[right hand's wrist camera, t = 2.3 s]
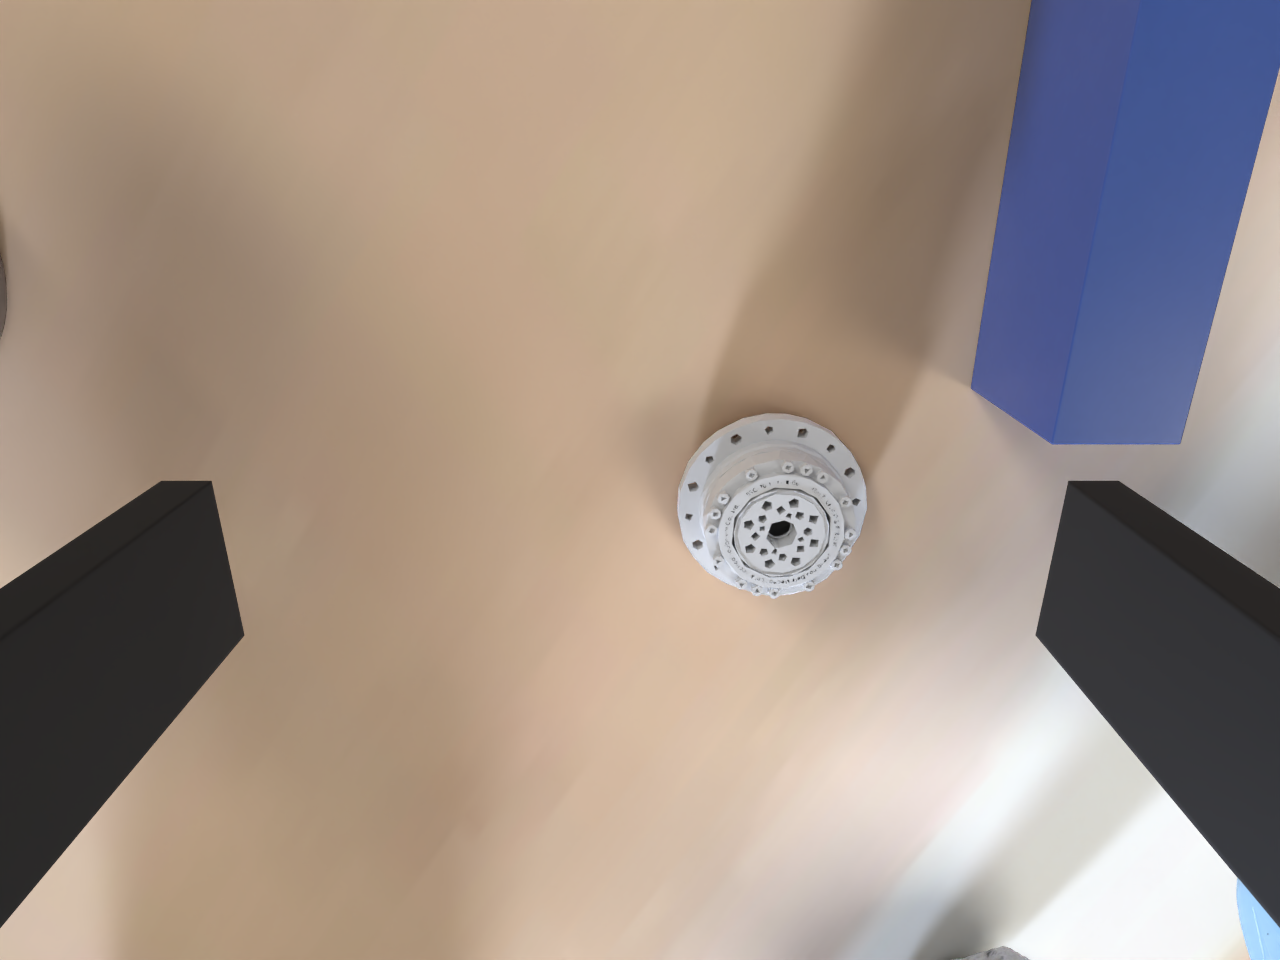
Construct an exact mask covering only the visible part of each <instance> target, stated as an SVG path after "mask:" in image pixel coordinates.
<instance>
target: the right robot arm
mask: <svg viewBox="0 0 1280 960" xmlns="http://www.w3.org/2000/svg"><path fill="white" fill-rule="evenodd" d="M6 310H7V290H6V278H5V273H4V267H3V262H2V259H1V255H0V338H1V335H2V332H3V328H4V324H5V317H6ZM243 636H244V631H243V626H242V622H241V617H240V612H239V608H238V603H237V598H236V594H235V589H234V584H233V580H232V575H231V570H230V565H229V561H228V556H227V551H226V547H225V542H224V537H223V533H222V528H221V523H220V519H219V514H218V509H217V505H216V500H215V495H214V491H213V486H212V481H161V482H159V483H158V484H156V485H155V486H153V487H152V488H150V489H149V490H147V491H146V492H144V493H143V494H141V495H140V496H138V497H137V498H135V499H134V500H132V501H131V502H129V503H128V504H126V505H125V506H123V507H122V508H120V509H119V510H117V511H116V512H114V513H113V514H111V515H110V516H108V517H107V518H105V519H104V520H102V521H101V522H99V523H98V524H96V525H95V526H93V527H92V528H90V529H89V530H87V531H86V532H84V533H83V534H81V535H80V536H78V537H77V538H75V539H74V540H72V541H71V542H69V543H68V544H66V545H65V546H63V547H62V548H60V549H59V550H57V551H56V552H54V553H53V554H51V555H50V556H49V557H47V558H46V559H44V560H43V561H41V562H40V563H38V564H37V565H35V566H34V567H32V568H31V569H29V570H28V571H26V572H25V573H23V574H22V575H20V576H19V577H17V578H16V579H14V580H13V581H11V582H10V583H8V584H7V585H5V586H4V587H2V588H1V589H0V928H1V927H2V925H3V924H4V923H5V922H6V921H7V919H8V918H9V917H10V916H11V915H12V913H13V912H14V911H15V910H16V909H17V907H18V906H19V905H20V904H21V903H22V901H23V900H24V899H25V898H26V897H27V895H28V894H29V893H30V892H31V891H32V889H33V888H34V887H35V886H36V885H37V883H38V882H39V881H40V880H41V879H42V877H43V876H44V875H45V874H46V873H47V871H48V870H49V869H50V868H51V867H52V865H53V864H54V863H55V862H56V861H57V859H58V858H59V857H60V856H61V855H62V853H63V852H64V851H65V850H66V849H67V847H68V846H69V845H70V844H71V843H72V841H73V840H74V839H75V838H76V837H77V835H78V834H79V833H80V832H81V831H82V829H83V828H84V827H85V826H86V825H87V823H88V822H89V821H90V820H91V819H92V817H93V816H94V815H95V814H96V813H97V811H98V810H99V809H100V808H101V807H102V805H103V804H104V803H105V802H106V801H107V799H108V798H109V797H110V796H111V795H112V793H113V792H114V791H115V790H116V789H117V787H118V786H119V785H120V784H121V783H122V781H123V780H124V779H125V778H126V777H127V775H128V774H129V773H130V772H131V771H132V769H133V768H134V767H135V766H136V765H137V763H138V762H139V761H140V760H141V759H142V757H143V756H144V755H145V754H146V753H147V751H148V750H149V749H150V748H151V747H152V745H153V744H154V743H155V742H156V741H157V739H158V738H159V737H160V736H161V735H162V733H163V732H164V731H165V730H166V729H167V727H168V726H169V725H170V724H171V723H172V721H173V720H174V719H175V718H176V717H177V715H178V714H179V713H180V712H181V711H182V709H183V708H184V707H185V706H186V705H187V703H188V702H189V701H190V700H191V699H192V697H193V696H194V695H195V694H196V693H197V692H198V690H199V689H200V688H201V687H202V686H203V684H204V683H205V682H206V681H207V680H208V678H209V677H210V676H211V675H212V674H213V672H214V671H215V670H216V669H217V668H218V666H219V665H220V664H221V663H222V662H223V660H224V659H225V658H226V657H227V656H228V654H229V653H230V652H231V651H232V650H233V648H234V647H235V646H236V645H237V644H238V642H239V641H240V640H241V639H242V638H243ZM1036 636H1037V638H1038V639H1039V640H1040V641H1041V642H1042V644H1043V645H1044V646H1045V647H1046V648H1047V650H1048V651H1049V652H1050V653H1051V654H1052V656H1053V657H1054V658H1055V659H1056V660H1057V662H1058V663H1059V664H1060V665H1061V666H1062V668H1063V669H1064V670H1065V671H1066V672H1067V674H1068V675H1069V676H1070V677H1071V678H1072V680H1073V681H1074V682H1075V683H1076V684H1077V686H1078V687H1079V688H1080V689H1081V690H1082V692H1083V693H1084V694H1085V695H1086V696H1087V697H1088V699H1089V700H1090V701H1091V702H1092V703H1093V705H1094V706H1095V707H1096V708H1097V709H1098V711H1099V712H1100V713H1101V714H1102V715H1103V717H1104V718H1105V719H1106V720H1107V721H1108V723H1109V724H1110V725H1111V726H1112V727H1113V729H1114V730H1115V731H1116V732H1117V733H1118V735H1119V736H1120V737H1121V738H1122V739H1123V741H1124V742H1125V743H1126V744H1127V745H1128V747H1129V748H1130V749H1131V750H1132V751H1133V753H1134V754H1135V755H1136V756H1137V757H1138V759H1139V760H1140V761H1141V762H1142V763H1143V765H1144V766H1145V767H1146V768H1147V769H1148V771H1149V772H1150V773H1151V774H1152V775H1153V777H1154V778H1155V779H1156V780H1157V781H1158V783H1159V784H1160V785H1161V786H1162V787H1163V789H1164V790H1165V791H1166V792H1167V793H1168V795H1169V796H1170V797H1171V798H1172V799H1173V801H1174V802H1175V803H1176V804H1177V805H1178V807H1179V808H1180V809H1181V810H1182V811H1183V813H1184V814H1185V815H1186V816H1187V817H1188V819H1189V820H1190V821H1191V822H1192V823H1193V825H1194V826H1195V827H1196V828H1197V829H1198V831H1199V832H1200V833H1201V834H1202V835H1203V837H1204V838H1205V839H1206V840H1207V841H1208V843H1209V844H1210V845H1211V846H1212V847H1213V849H1214V850H1215V851H1216V852H1217V853H1218V855H1219V856H1220V857H1221V858H1222V859H1223V861H1224V862H1225V863H1226V864H1227V865H1228V867H1229V868H1230V869H1231V870H1232V871H1233V873H1234V874H1235V875H1236V876H1237V877H1238V879H1239V880H1240V881H1241V882H1242V883H1243V885H1244V886H1245V887H1246V888H1247V889H1248V891H1249V892H1250V893H1251V894H1252V895H1253V897H1254V898H1255V899H1256V900H1257V901H1258V903H1259V904H1260V905H1261V906H1262V907H1263V909H1264V910H1265V911H1266V912H1267V913H1268V915H1269V916H1270V917H1271V918H1272V919H1273V921H1274V922H1275V923H1276V924H1277V925H1278V927H1279V928H1280V589H1279V588H1278V587H1276V586H1275V585H1273V584H1272V583H1270V582H1269V581H1267V580H1266V579H1264V578H1263V577H1261V576H1260V575H1258V574H1257V573H1255V572H1254V571H1252V570H1251V569H1249V568H1248V567H1246V566H1245V565H1243V564H1242V563H1240V562H1239V561H1237V560H1236V559H1234V558H1233V557H1232V556H1230V555H1229V554H1227V553H1226V552H1224V551H1223V550H1221V549H1220V548H1218V547H1217V546H1215V545H1214V544H1212V543H1211V542H1209V541H1208V540H1206V539H1205V538H1203V537H1202V536H1200V535H1199V534H1197V533H1196V532H1194V531H1193V530H1191V529H1190V528H1188V527H1187V526H1185V525H1184V524H1182V523H1181V522H1179V521H1178V520H1176V519H1175V518H1173V517H1172V516H1170V515H1169V514H1167V513H1166V512H1164V511H1163V510H1161V509H1160V508H1158V507H1157V506H1155V505H1154V504H1152V503H1151V502H1149V501H1148V500H1146V499H1145V498H1143V497H1142V496H1140V495H1139V494H1137V493H1136V492H1134V491H1133V490H1131V489H1130V488H1128V487H1127V486H1125V485H1124V484H1122V483H1121V482H1119V481H1068V486H1067V491H1066V495H1065V500H1064V505H1063V509H1062V514H1061V519H1060V523H1059V528H1058V533H1057V537H1056V542H1055V547H1054V551H1053V556H1052V561H1051V565H1050V570H1049V575H1048V580H1047V584H1046V589H1045V594H1044V598H1043V603H1042V608H1041V612H1040V617H1039V622H1038V626H1037V631H1036Z"/></svg>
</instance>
